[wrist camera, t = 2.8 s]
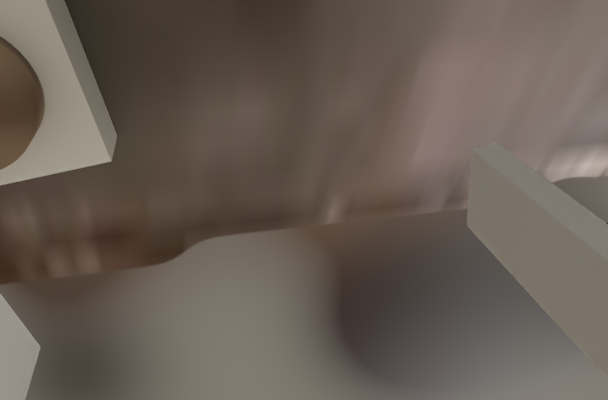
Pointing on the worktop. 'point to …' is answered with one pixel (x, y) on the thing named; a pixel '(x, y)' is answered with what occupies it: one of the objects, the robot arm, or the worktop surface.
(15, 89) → the walnut coaster
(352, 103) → the worktop surface
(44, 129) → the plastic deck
